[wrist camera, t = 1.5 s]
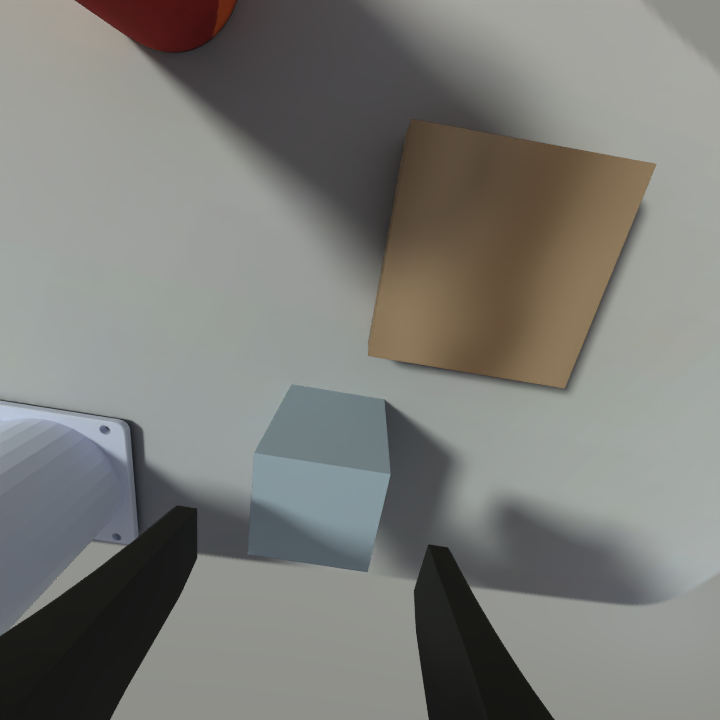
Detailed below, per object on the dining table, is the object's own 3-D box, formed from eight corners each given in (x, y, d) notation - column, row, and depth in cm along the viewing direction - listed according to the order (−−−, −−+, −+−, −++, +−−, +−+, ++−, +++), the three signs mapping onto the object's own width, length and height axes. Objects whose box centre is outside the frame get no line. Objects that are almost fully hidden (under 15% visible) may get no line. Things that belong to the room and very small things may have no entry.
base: (368, 341, 15) (368, 355, 13) (405, 137, 12) (411, 119, 11) (540, 370, 15) (564, 388, 13) (613, 175, 13) (656, 163, 11)
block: (283, 461, 18) (247, 554, 12) (291, 384, 16) (254, 452, 11) (368, 474, 18) (367, 572, 12) (384, 399, 16) (390, 474, 11)
